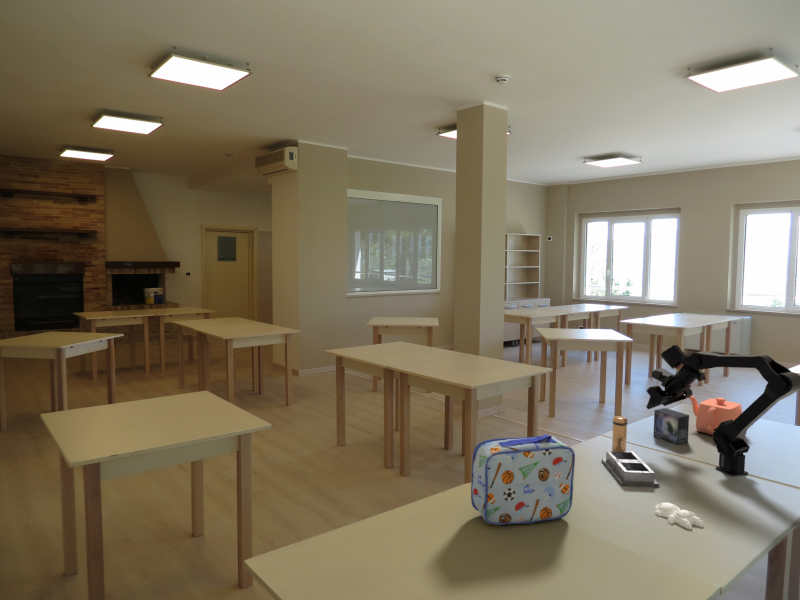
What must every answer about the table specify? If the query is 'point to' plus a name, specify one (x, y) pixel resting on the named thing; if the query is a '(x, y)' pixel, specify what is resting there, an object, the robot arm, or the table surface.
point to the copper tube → (619, 433)
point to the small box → (671, 425)
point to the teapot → (714, 413)
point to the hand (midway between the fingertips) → (655, 406)
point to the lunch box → (522, 479)
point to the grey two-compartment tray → (629, 469)
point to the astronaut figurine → (677, 515)
